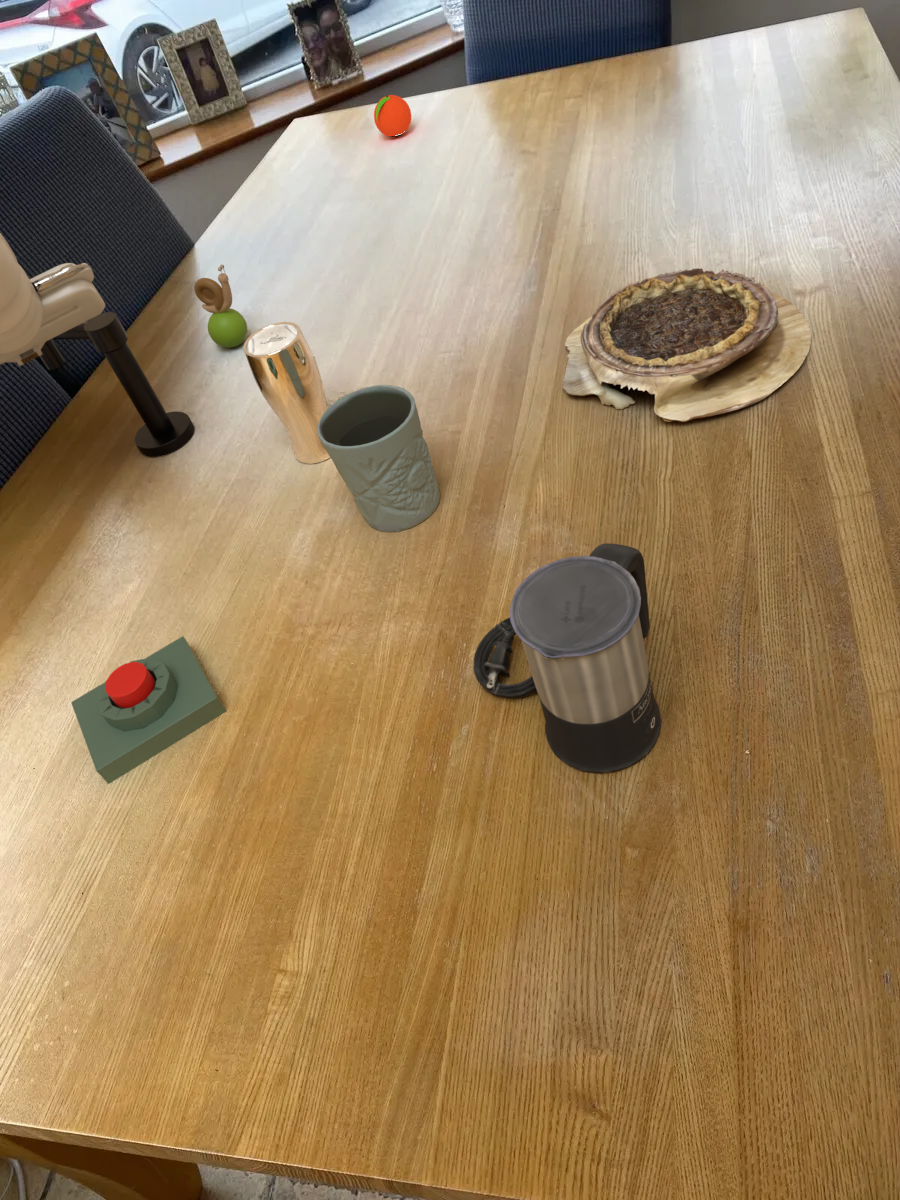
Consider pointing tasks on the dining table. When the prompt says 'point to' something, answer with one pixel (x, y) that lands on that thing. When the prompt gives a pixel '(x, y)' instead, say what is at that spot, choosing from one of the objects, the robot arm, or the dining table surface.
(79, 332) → the spout
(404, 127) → the clementine
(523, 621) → the milk frother
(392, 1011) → the dining table surface
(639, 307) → the pie
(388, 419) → the embossed green cup
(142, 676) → the button
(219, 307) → the snail figurine
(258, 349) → the beer glass
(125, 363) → the base
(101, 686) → the control block
